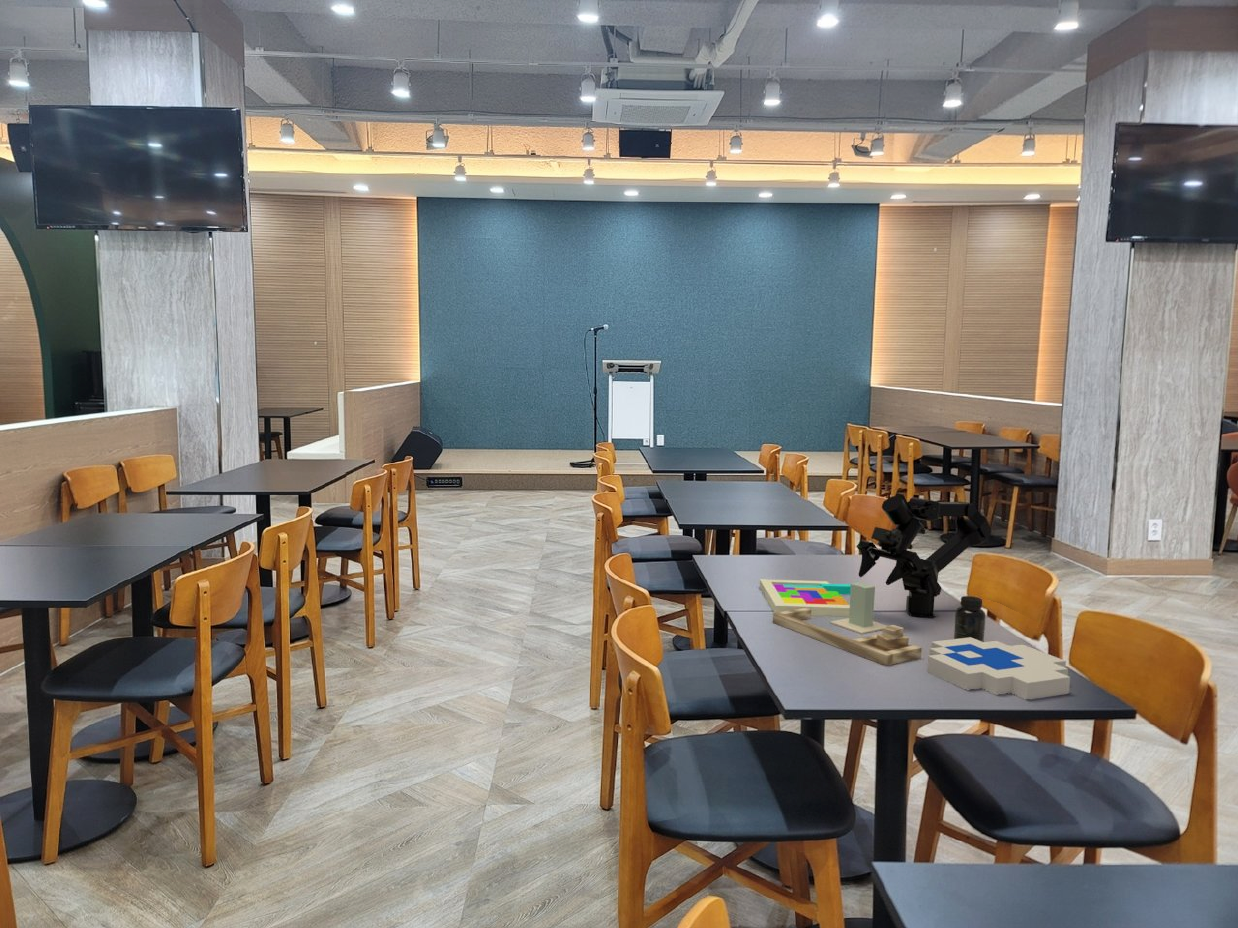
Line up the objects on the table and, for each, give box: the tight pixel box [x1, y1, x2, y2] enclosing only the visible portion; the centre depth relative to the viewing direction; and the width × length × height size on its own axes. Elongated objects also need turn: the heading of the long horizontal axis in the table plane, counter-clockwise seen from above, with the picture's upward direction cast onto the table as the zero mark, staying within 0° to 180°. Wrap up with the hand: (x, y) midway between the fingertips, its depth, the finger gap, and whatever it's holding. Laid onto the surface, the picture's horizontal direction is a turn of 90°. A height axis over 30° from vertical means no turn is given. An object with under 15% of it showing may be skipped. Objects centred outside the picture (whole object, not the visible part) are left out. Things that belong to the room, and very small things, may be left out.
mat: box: [829, 617, 889, 635], centre depth 223 cm, size 11×11×1 cm
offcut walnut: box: [875, 643, 912, 651], centre depth 202 cm, size 7×5×2 cm
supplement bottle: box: [953, 595, 987, 642], centre depth 208 cm, size 7×7×12 cm
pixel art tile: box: [926, 637, 1071, 700], centre depth 189 cm, size 28×4×28 cm
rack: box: [772, 608, 922, 667], centre depth 211 cm, size 12×38×2 cm, turn 32°
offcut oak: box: [876, 633, 909, 648], centre depth 202 cm, size 6×4×2 cm, turn 108°
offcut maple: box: [881, 624, 905, 640], centre depth 201 cm, size 4×3×2 cm
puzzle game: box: [759, 578, 852, 618], centre depth 247 cm, size 30×3×30 cm
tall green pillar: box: [848, 582, 876, 628], centre depth 223 cm, size 4×5×10 cm
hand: (872, 580), depth 224 cm, fingers open, 9 cm apart
